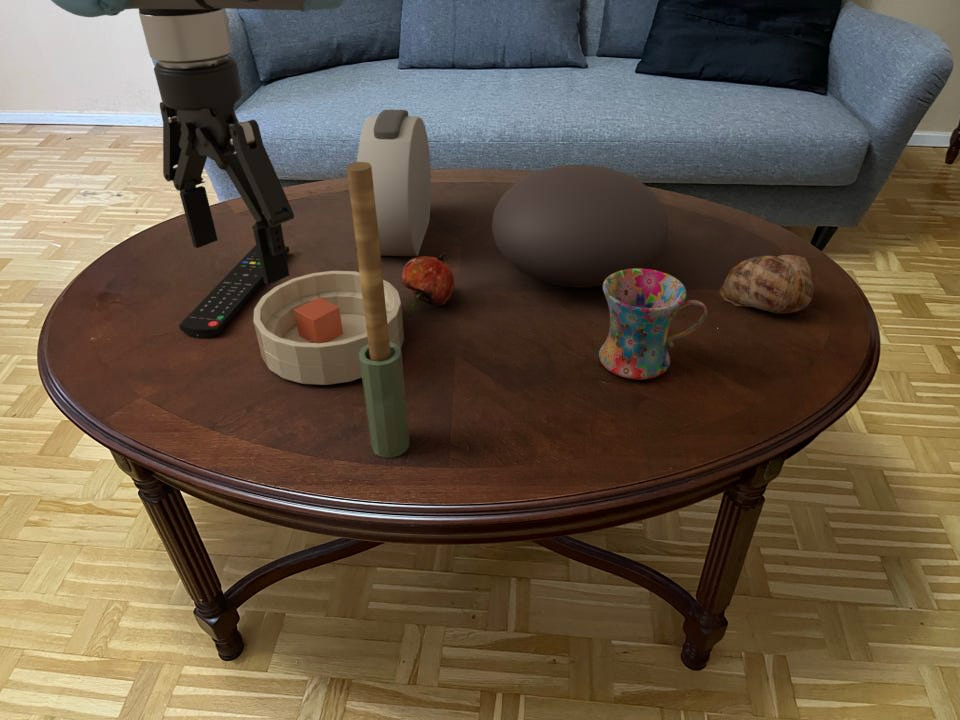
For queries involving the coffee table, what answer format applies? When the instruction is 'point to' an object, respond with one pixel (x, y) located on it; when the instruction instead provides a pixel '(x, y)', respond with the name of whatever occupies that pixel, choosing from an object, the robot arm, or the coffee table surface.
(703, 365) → the coffee table surface
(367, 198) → the stick
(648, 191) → the flattened ellipsoid
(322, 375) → the bowl
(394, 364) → the holder
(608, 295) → the mug
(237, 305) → the remote control
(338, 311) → the block
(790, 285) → the seashell
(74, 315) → the coffee table surface
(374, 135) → the alarm clock
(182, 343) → the coffee table surface
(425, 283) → the pomegranate
